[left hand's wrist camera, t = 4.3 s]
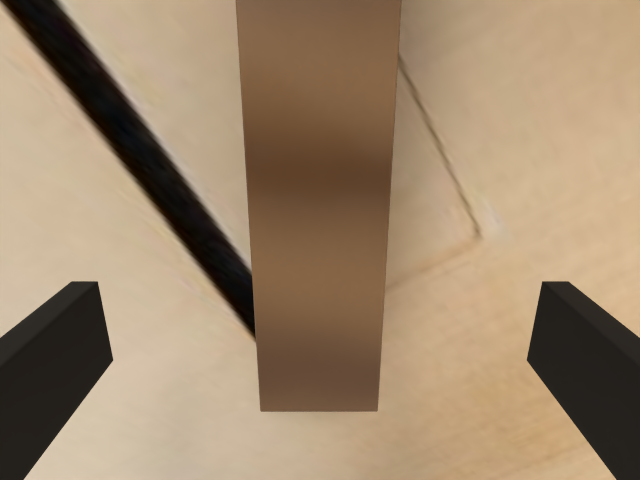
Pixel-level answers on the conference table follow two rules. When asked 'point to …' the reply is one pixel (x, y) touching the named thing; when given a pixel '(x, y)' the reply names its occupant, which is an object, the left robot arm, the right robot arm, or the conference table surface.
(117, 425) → the conference table surface
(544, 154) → the conference table surface
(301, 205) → the bar
